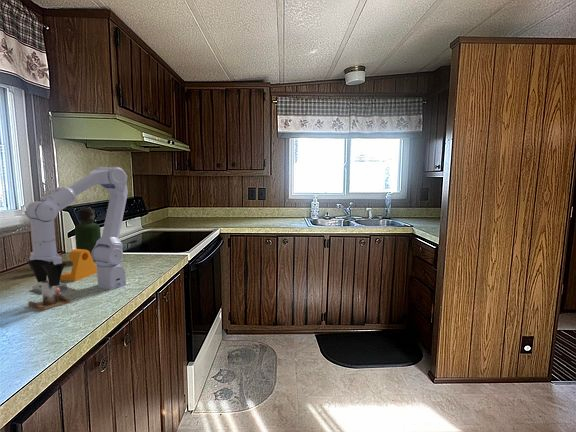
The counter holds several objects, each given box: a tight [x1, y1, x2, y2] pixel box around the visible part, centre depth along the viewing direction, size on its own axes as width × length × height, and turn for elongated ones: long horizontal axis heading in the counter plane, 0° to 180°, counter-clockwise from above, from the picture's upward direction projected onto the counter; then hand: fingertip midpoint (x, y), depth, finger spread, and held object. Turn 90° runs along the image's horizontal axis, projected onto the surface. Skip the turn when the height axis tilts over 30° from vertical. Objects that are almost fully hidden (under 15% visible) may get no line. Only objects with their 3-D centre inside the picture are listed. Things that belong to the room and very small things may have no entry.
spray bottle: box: [74, 207, 102, 262], centre depth 155 cm, size 10×10×25 cm
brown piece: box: [27, 294, 71, 312], centre depth 102 cm, size 8×8×2 cm
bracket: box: [60, 248, 97, 282], centre depth 129 cm, size 11×7×12 cm, turn 169°
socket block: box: [31, 282, 77, 296], centre depth 114 cm, size 14×8×2 cm, turn 61°
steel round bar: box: [40, 279, 57, 305], centre depth 101 cm, size 4×4×7 cm
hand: (48, 283), depth 101 cm, fingers open, 7 cm apart
